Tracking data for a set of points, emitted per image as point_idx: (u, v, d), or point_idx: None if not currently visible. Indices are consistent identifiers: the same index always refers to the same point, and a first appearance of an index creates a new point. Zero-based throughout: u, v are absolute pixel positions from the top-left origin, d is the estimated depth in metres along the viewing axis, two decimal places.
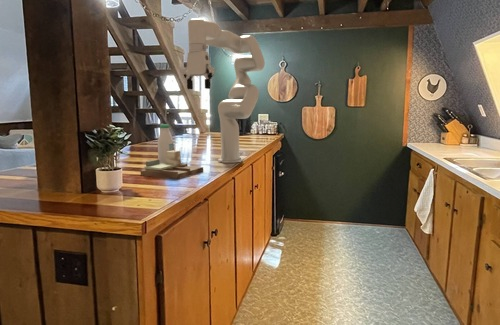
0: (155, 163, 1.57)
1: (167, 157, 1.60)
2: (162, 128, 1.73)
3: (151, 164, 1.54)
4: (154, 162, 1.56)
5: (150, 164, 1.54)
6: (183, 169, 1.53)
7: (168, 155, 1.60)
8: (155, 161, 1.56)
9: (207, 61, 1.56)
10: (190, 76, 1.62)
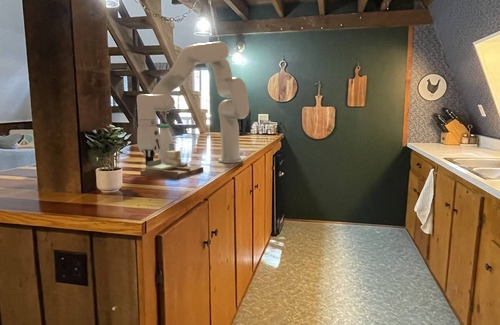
0: (156, 163, 1.56)
1: (167, 157, 1.60)
2: (162, 128, 1.73)
3: (152, 164, 1.54)
4: (155, 162, 1.56)
5: (151, 164, 1.54)
6: (183, 169, 1.53)
7: (168, 155, 1.60)
8: (156, 161, 1.56)
9: (156, 136, 1.53)
10: (147, 152, 1.58)
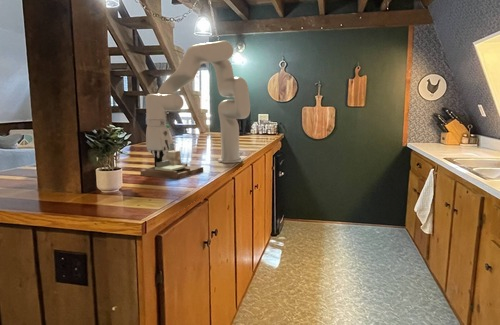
0: (165, 164, 1.54)
1: (167, 157, 1.60)
2: None
3: (161, 165, 1.52)
4: (164, 163, 1.53)
5: (160, 165, 1.51)
6: (183, 169, 1.53)
7: (168, 155, 1.60)
8: (165, 162, 1.54)
9: (166, 137, 1.50)
10: (156, 152, 1.55)
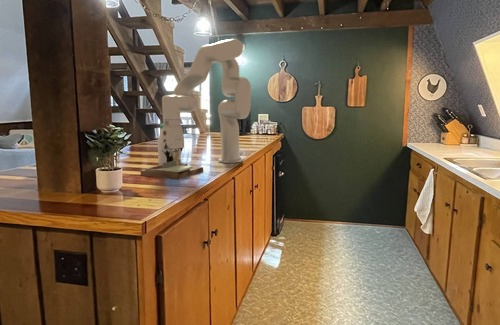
0: (172, 165, 1.52)
1: None
2: (162, 128, 1.73)
3: (168, 166, 1.50)
4: (171, 164, 1.51)
5: (167, 166, 1.49)
6: None
7: None
8: (172, 163, 1.52)
9: (165, 136, 1.56)
10: (179, 150, 1.64)
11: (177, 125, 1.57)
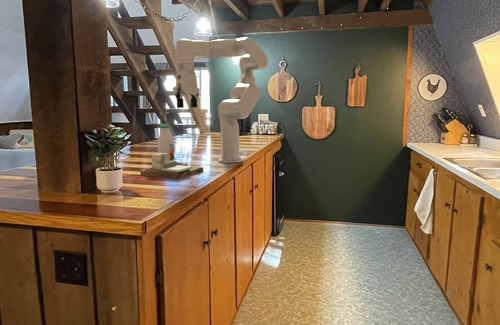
0: (172, 165, 1.52)
1: (153, 160, 1.53)
2: (162, 128, 1.73)
3: (168, 166, 1.50)
4: (171, 164, 1.51)
5: (167, 166, 1.49)
6: None
7: (154, 158, 1.52)
8: (172, 163, 1.52)
9: (179, 80, 1.57)
10: None
11: (191, 69, 1.58)
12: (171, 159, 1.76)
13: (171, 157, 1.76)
